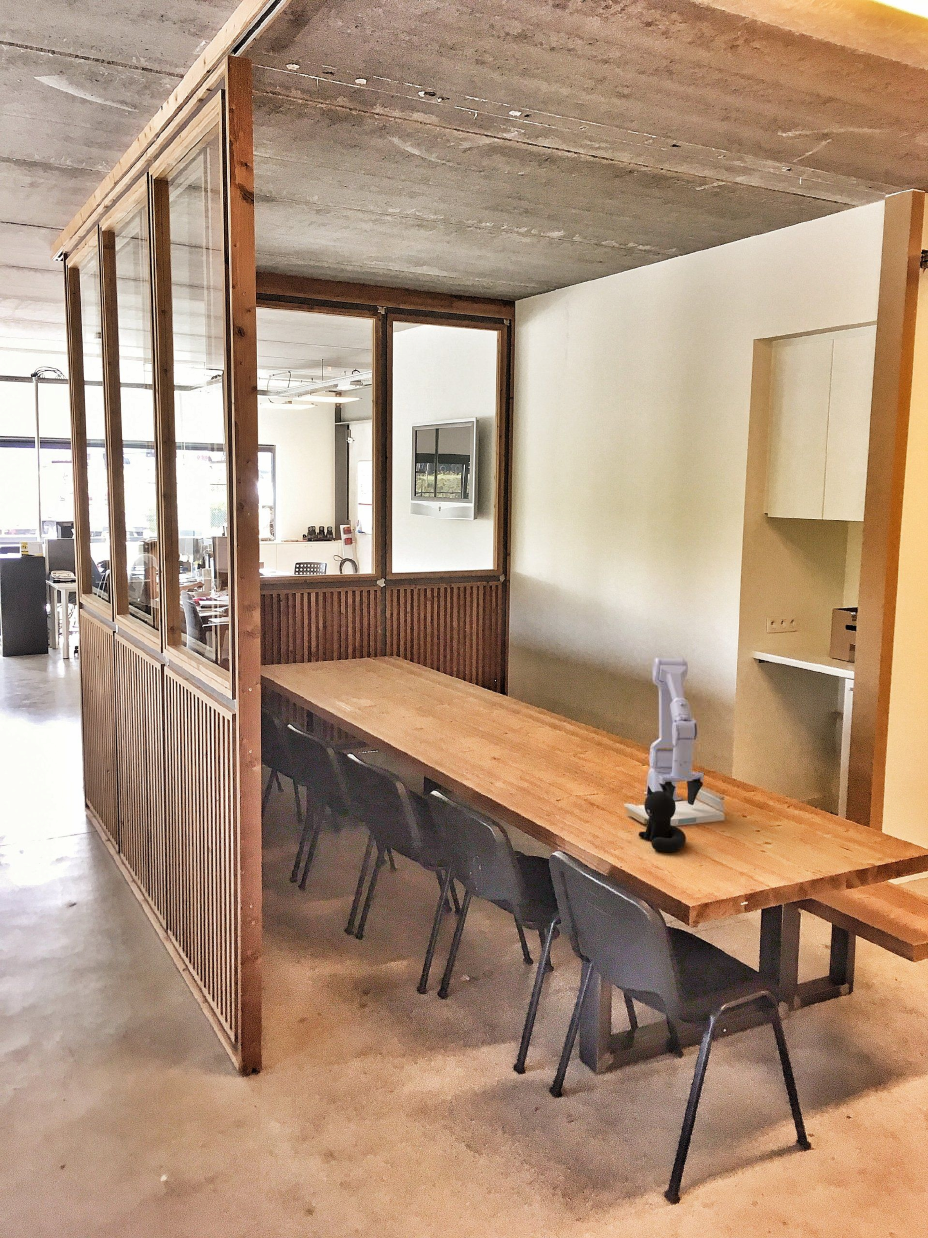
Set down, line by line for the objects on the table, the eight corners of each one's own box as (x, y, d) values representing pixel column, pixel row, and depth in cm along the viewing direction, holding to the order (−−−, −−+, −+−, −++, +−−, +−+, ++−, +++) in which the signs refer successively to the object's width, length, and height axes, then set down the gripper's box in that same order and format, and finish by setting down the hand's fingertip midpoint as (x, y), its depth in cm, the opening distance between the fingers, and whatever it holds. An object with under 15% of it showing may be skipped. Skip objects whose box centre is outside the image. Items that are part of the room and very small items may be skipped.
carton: (634, 812, 303) (634, 806, 302) (696, 806, 311) (696, 799, 311) (660, 827, 290) (661, 820, 290) (724, 820, 298) (724, 814, 298)
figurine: (624, 838, 280) (627, 785, 278) (662, 831, 287) (666, 779, 285) (662, 857, 266) (666, 802, 264) (702, 849, 273) (705, 795, 271)
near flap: (634, 804, 302) (632, 812, 302) (624, 803, 300) (622, 811, 301) (658, 818, 290) (656, 826, 290) (648, 817, 288) (646, 825, 289)
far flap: (723, 811, 298) (729, 808, 299) (720, 801, 297) (726, 797, 298) (697, 798, 310) (703, 795, 311) (694, 788, 309) (700, 785, 310)
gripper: (669, 765, 292) (666, 811, 294) (711, 762, 297) (708, 807, 299) (655, 759, 298) (653, 804, 300) (697, 756, 304) (694, 800, 306)
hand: (679, 805), depth 300 cm, fingers open, 7 cm apart
